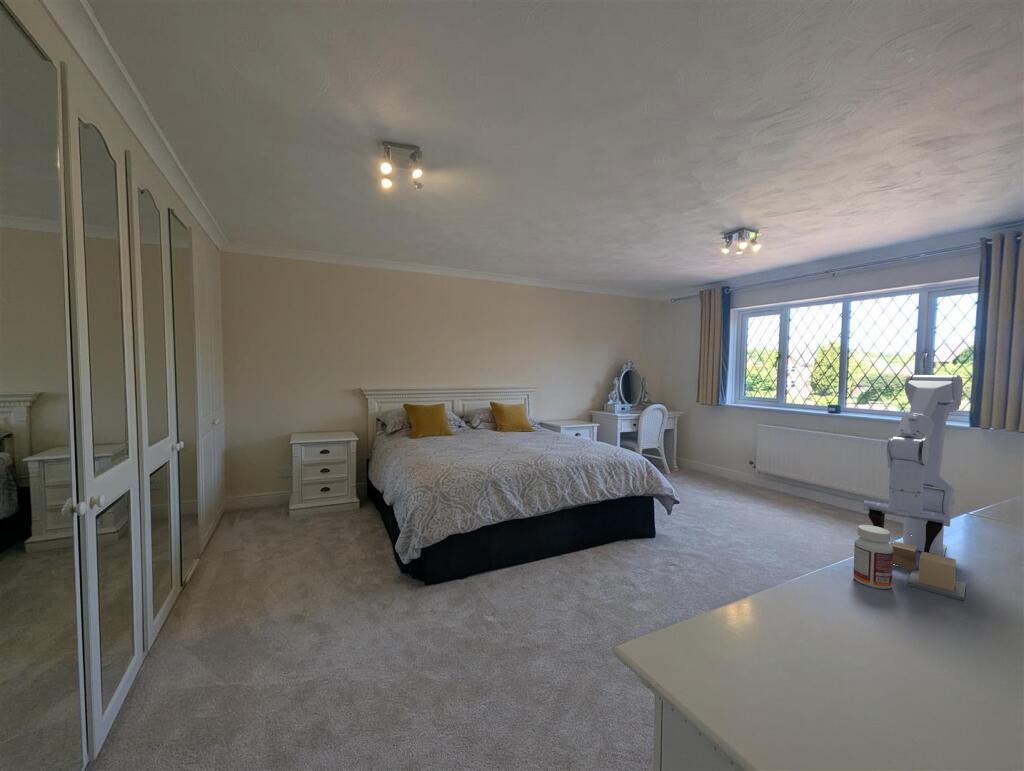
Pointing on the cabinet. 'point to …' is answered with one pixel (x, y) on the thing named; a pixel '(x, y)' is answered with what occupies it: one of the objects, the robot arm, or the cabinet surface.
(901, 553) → the walnut block
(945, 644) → the cabinet surface
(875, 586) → the pill bottle
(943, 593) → the tower base
